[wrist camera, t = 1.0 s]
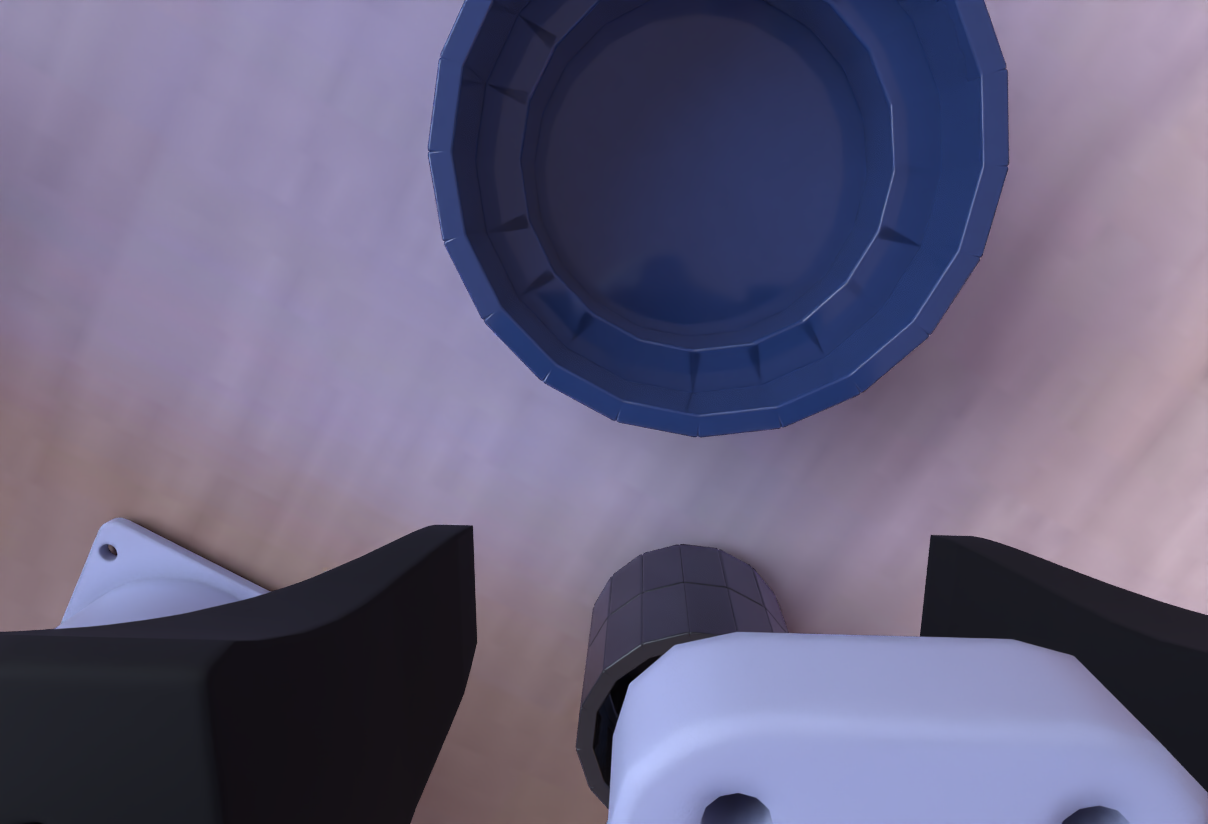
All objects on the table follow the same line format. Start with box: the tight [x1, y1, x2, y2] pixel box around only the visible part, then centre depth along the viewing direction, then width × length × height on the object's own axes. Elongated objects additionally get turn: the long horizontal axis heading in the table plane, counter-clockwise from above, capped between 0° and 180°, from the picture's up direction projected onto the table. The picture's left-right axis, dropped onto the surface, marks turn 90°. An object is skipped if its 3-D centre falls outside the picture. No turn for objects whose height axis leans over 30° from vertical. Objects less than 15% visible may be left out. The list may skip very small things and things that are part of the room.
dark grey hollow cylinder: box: [576, 544, 789, 809], centre depth 20 cm, size 5×5×5 cm
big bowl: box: [428, 0, 1009, 437], centre depth 18 cm, size 11×11×5 cm
